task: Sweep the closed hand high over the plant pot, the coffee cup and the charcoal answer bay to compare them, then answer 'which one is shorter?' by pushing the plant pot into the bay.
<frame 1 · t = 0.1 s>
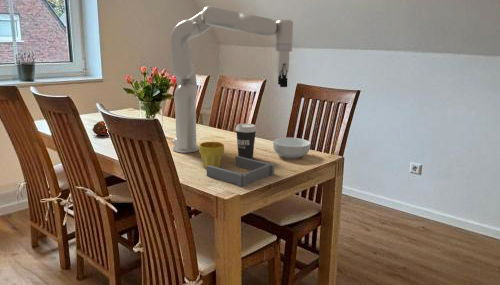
hand: (282, 85, 203), 31 cm above the table, tool pointing down, fingers open, 9 cm apart
answer bay: (239, 174, 175), on the table
coffee cup: (245, 158, 198), on the table
plant pot: (211, 167, 184), on the table
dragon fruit: (101, 135, 236), on the table
cereal bowl: (291, 156, 202), on the table
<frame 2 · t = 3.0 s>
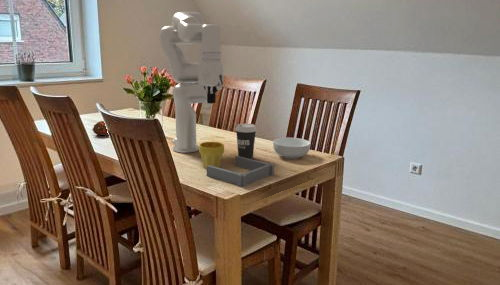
hand: (211, 102, 177), 27 cm above the table, tool pointing down, fingers closed
nothing on the table moved.
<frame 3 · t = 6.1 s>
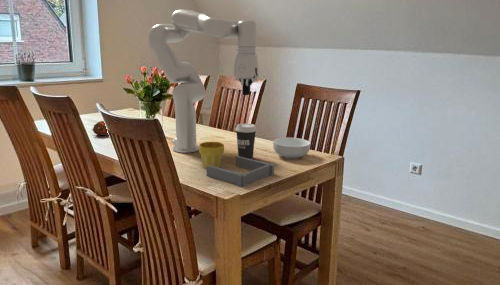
hand: (246, 94, 189), 29 cm above the table, tool pointing down, fingers closed
nothing on the table moved.
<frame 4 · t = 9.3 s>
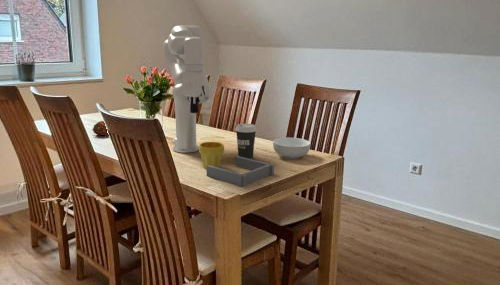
hand: (194, 112, 185), 22 cm above the table, tool pointing down, fingers closed
nothing on the table moved.
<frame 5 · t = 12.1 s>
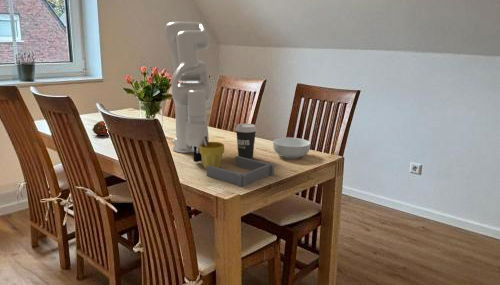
hand: (197, 161, 189), 1 cm above the table, tool pointing down, fingers closed
plant pot: (211, 167, 184), on the table, touching gripper
everything else where it was.
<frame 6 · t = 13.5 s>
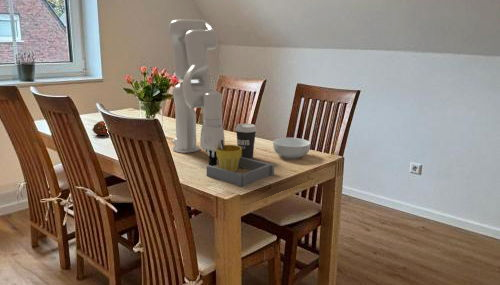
hand: (212, 165, 183), 1 cm above the table, tool pointing down, fingers closed
plant pot: (228, 171, 179), on the table, touching gripper
everything else where it was.
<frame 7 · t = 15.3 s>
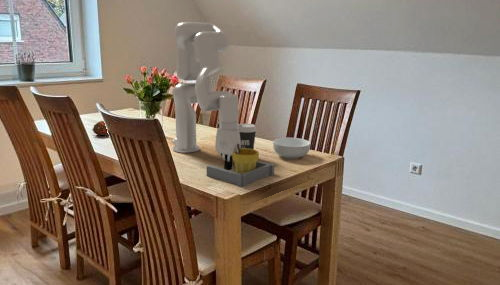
hand: (228, 169, 178), 1 cm above the table, tool pointing down, fingers closed
plant pot: (245, 175, 174), on the table, touching gripper
everything else where it was.
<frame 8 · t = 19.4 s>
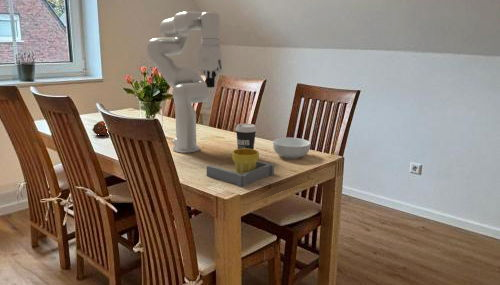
hand: (210, 87, 187), 32 cm above the table, tool pointing down, fingers closed
plant pot: (245, 175, 174), on the table
everything else where it was.
at the end: plant pot inside the target area on the answer bay (2.1 cm from its centre), point 0.0 cm above the answer bay's base; plant pot tilted 0°; coffee cup moved 0.2 cm from its start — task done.
